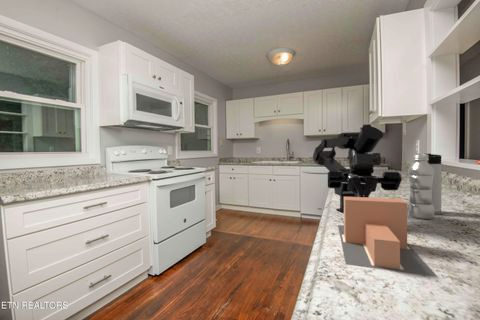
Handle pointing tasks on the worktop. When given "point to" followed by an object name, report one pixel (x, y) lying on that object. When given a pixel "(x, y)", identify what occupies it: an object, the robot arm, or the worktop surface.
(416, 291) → the worktop surface
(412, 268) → the mat
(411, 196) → the plastic bottle
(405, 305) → the worktop surface
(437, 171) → the travel mug
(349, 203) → the t block
